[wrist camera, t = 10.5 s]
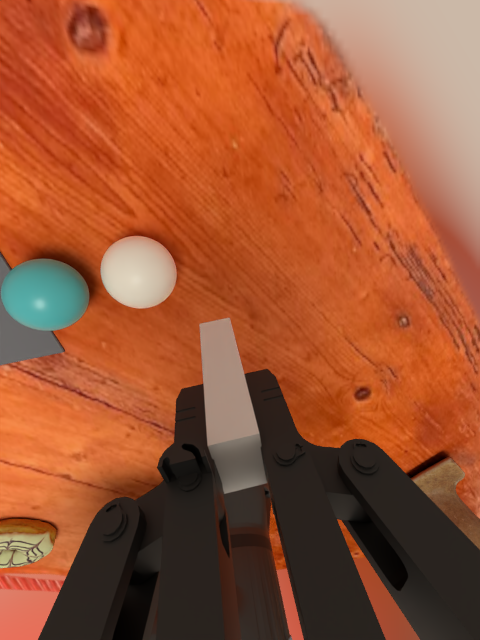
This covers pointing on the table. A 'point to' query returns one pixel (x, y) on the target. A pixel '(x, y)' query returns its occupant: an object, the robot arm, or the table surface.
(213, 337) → the robot arm
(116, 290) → the cue ball
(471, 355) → the table surface
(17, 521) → the decorated donut
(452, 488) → the tan flanged block
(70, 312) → the teal ball
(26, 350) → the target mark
